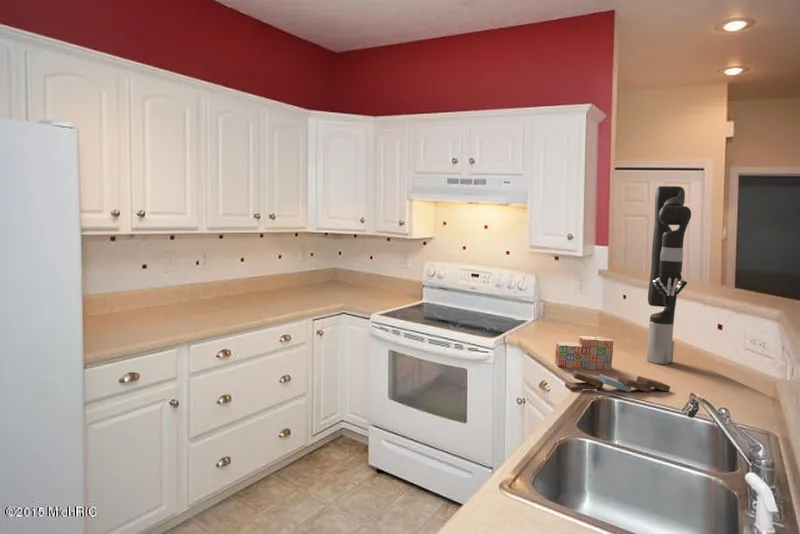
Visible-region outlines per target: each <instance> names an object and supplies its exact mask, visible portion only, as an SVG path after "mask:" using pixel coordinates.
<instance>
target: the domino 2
mask: <svg viewBox="0 0 800 534" xmlns="http://www.w3.org/2000/svg"><path fill="white" fill-rule="evenodd" d="M597 378H598V380H600V381H601V382H603V383H604V384H605V385H607V386H609V387H613V388H616V389H619V390H621V391H625V392H627V393H629V392H630V393H631V390H632V388H633V387H630V386H627V385H625V384H623V383H621V382H619V381H618V379H615V378H612V377H611V376H610V377H609V376H606V375H604V374H602V373H600V374H599V375H598V377H597ZM604 384H603V385H604Z"/></svg>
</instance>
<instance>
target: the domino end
mask: <svg viewBox="0 0 800 534" xmlns="http://www.w3.org/2000/svg"><path fill="white" fill-rule="evenodd" d="M564 387H565V388H566V389H568V390H569V392H570V391H571V392H578V391H577V390H583V389H598V390H599V387H598V386H595V385H592V384H589V383H586V382H583V381H581V382H577V381H575V382H573V381H572V382H570V381H569V382H568V381H567V382H566V381H565V382H564Z"/></svg>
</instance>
